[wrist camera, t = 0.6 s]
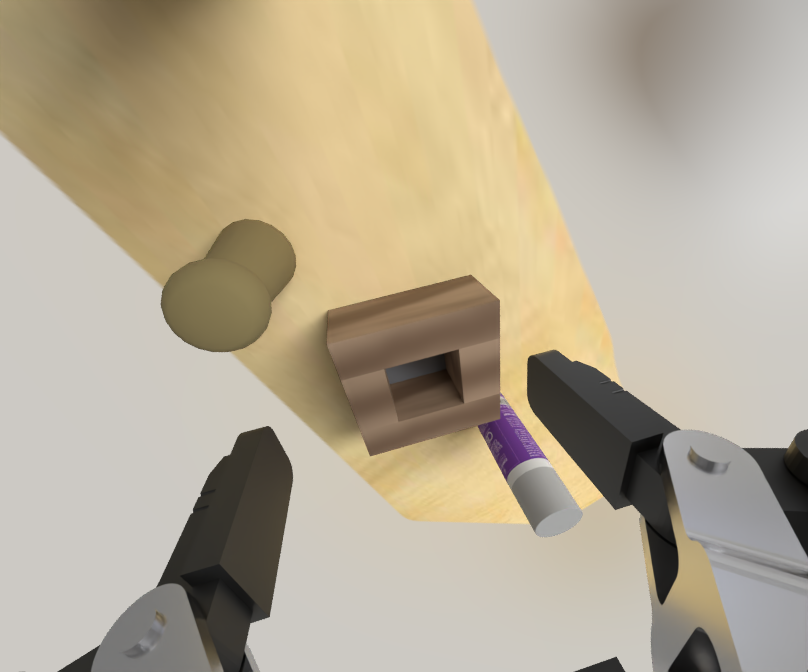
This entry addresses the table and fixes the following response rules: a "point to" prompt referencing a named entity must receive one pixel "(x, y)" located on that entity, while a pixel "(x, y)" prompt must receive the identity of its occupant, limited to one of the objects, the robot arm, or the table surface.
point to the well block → (419, 362)
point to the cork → (229, 288)
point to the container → (530, 474)
